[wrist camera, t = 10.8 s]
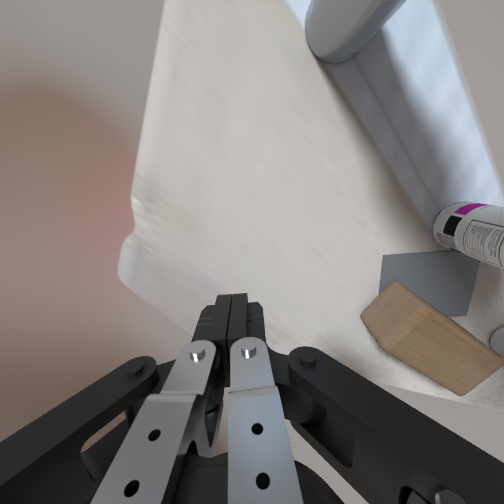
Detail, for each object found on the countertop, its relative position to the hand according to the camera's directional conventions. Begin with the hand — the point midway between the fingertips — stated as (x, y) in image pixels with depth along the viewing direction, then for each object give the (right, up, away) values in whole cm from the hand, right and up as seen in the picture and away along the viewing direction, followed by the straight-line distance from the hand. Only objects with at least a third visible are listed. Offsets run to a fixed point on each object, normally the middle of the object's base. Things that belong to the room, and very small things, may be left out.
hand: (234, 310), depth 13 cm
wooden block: (+24, -7, +31) cm, 40 cm away
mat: (+35, -4, +35) cm, 50 cm away
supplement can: (+37, +8, +32) cm, 49 cm away
